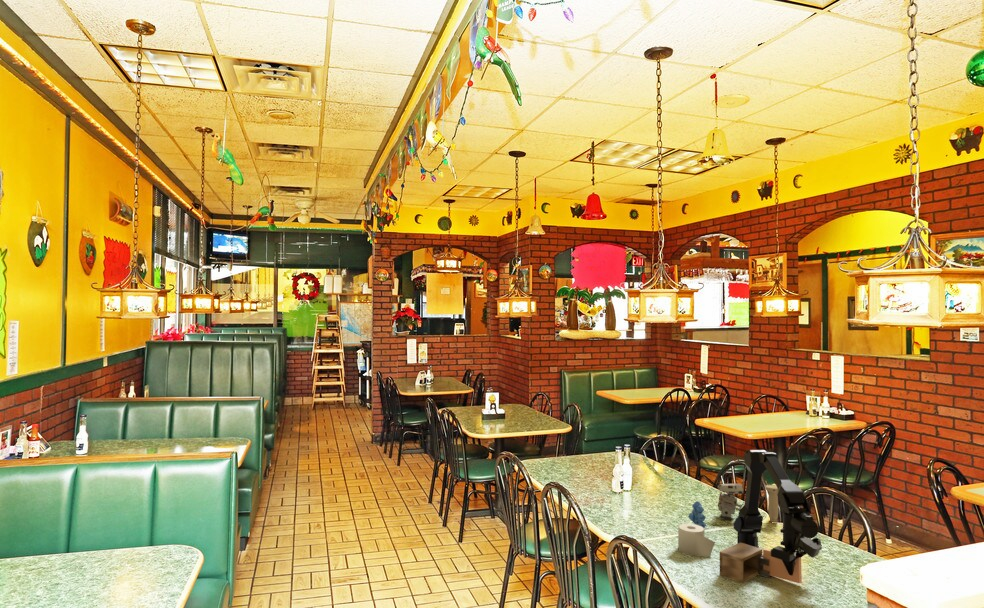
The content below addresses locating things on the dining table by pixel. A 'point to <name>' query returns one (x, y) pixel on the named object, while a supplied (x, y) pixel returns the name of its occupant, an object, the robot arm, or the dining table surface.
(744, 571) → the cabinet
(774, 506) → the handle
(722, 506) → the figurine
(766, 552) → the cabinet door
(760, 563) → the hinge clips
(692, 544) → the toilet tissue
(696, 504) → the grapes
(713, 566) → the dining table surface
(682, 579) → the dining table surface
